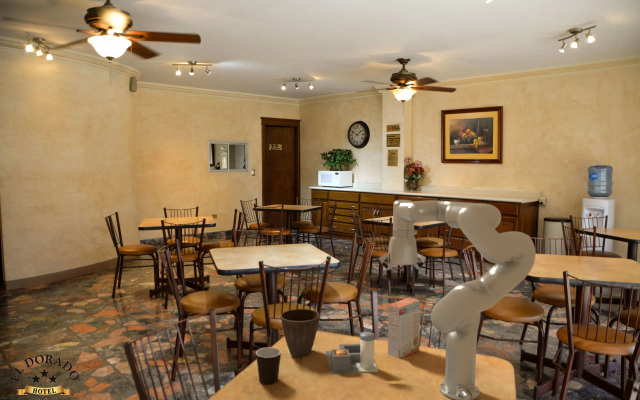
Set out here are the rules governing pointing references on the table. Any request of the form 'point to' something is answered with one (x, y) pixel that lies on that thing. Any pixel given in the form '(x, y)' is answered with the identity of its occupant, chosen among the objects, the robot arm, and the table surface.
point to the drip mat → (365, 369)
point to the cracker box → (403, 327)
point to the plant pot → (300, 330)
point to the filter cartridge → (367, 350)
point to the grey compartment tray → (345, 359)
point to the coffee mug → (268, 365)
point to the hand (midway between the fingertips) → (402, 279)
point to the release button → (340, 352)
